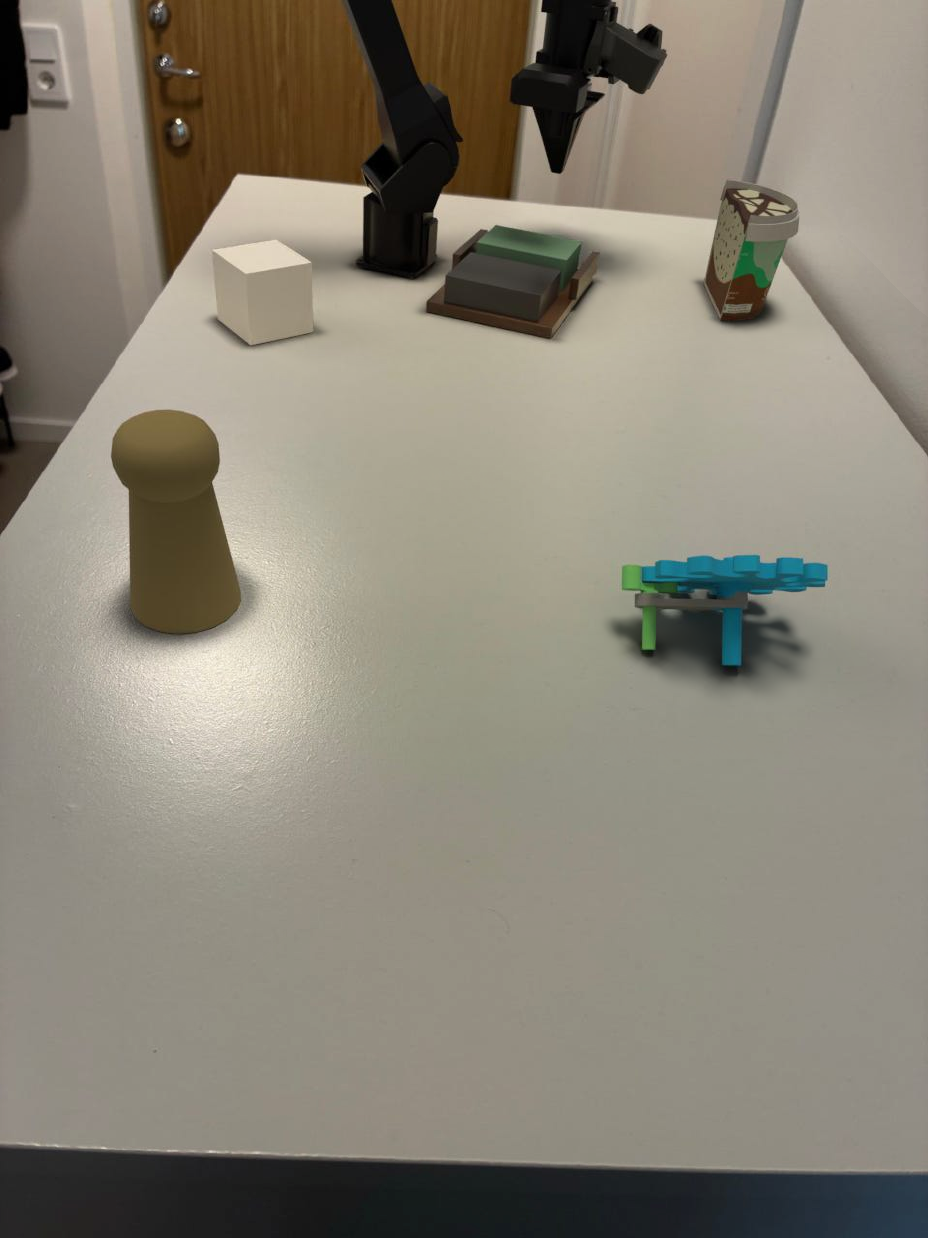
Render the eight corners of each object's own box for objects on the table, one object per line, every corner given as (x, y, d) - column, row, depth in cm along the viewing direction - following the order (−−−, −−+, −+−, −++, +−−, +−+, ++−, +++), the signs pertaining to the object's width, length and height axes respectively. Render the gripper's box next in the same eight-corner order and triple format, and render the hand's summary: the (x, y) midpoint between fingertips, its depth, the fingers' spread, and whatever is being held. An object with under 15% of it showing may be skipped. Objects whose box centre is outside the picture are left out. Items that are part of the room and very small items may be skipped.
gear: (805, 573, 57) (851, 543, 47) (805, 672, 56) (852, 662, 46) (618, 570, 58) (626, 540, 48) (616, 666, 58) (623, 656, 48)
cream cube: (313, 332, 82) (312, 262, 78) (250, 345, 79) (245, 273, 75) (279, 307, 85) (276, 238, 82) (217, 319, 82) (211, 249, 79)
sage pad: (492, 254, 97) (495, 224, 96) (577, 271, 96) (582, 241, 94) (474, 273, 93) (476, 241, 91) (562, 291, 91) (567, 259, 89)
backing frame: (478, 258, 99) (481, 223, 97) (594, 281, 97) (600, 246, 94) (422, 310, 87) (424, 272, 85) (554, 339, 85) (559, 301, 82)
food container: (786, 331, 90) (820, 223, 84) (723, 326, 90) (751, 217, 84) (758, 284, 100) (787, 183, 93) (700, 278, 100) (725, 177, 93)
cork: (186, 648, 50) (160, 468, 43) (106, 604, 52) (68, 426, 45) (263, 592, 54) (251, 419, 47) (185, 553, 56) (162, 383, 49)
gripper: (649, 10, 76) (614, 211, 86) (687, -11, 90) (653, 164, 100) (518, -8, 79) (498, 190, 89) (574, -26, 93) (552, 147, 103)
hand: (557, 172), depth 95 cm, fingers closed
